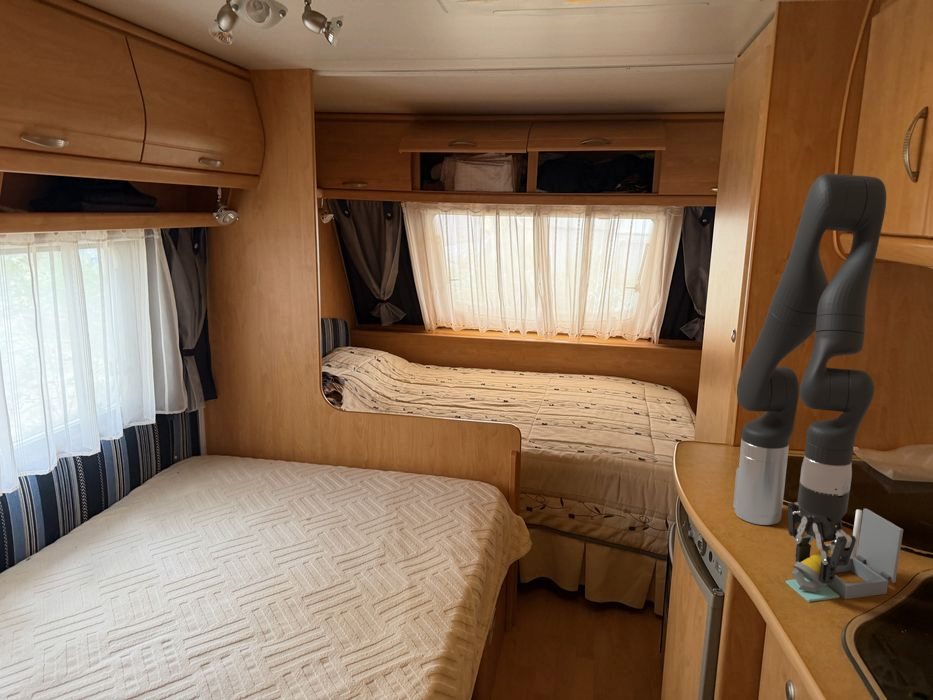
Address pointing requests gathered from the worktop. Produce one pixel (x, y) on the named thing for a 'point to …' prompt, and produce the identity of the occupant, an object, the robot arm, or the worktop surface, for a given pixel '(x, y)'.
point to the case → (871, 556)
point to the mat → (810, 596)
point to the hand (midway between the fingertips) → (813, 572)
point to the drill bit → (809, 572)
